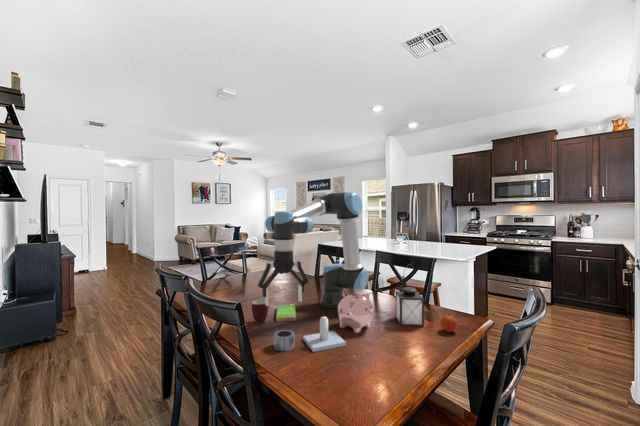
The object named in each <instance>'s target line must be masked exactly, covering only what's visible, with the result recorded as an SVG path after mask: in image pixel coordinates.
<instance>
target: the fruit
mask: <svg viewBox="0 0 640 426" xmlns="http://www.w3.org/2000/svg"><path fill="white" fill-rule="evenodd" d="M440 325H441V326H440V327H441V328H442V329H443V330H444V331H446V332H447V333H454V332H455V331H456V330H457V329H458V320H457V319H456V317H454V316H453V315H450V314H449V313H447V315H444V316H442V317H441V320H440Z"/></svg>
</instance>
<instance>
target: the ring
mask: <svg viewBox="0 0 640 426" xmlns="http://www.w3.org/2000/svg"><path fill="white" fill-rule="evenodd" d="M295 334H296V333H295V332H294V331H293V330H291V329H280V330H277V331H275V333H274V334H273V347H274V350H276V351H279V352H286V351H290V350H292V349H294V348H295V346H296V343H295V342H296V339H295V337H296V335H295Z"/></svg>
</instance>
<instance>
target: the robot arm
mask: <svg viewBox="0 0 640 426" xmlns="http://www.w3.org/2000/svg"><path fill="white" fill-rule="evenodd" d="M362 209H363V202H362V199H361V197H360V196H359V194H358V193H356V192H352V191H350V192H349V191H345V192H331V193H326V194H325V195H321V196H319V197H316V198H314V199H313V200H312V201H311V202H309V203H307V204H303V205H302V206H299V207H296V208H293V209H291V210H289V211H276V212H274V215H270V216H267V218H266V219H265V223H264V224H265V229H266V230H267V231H268V232H270V233H273V236H274V241H273V242H274V243H273V244H274V245H273V247H274V248H273V249H274V251H273V253H274V257H273V260H274V261H273V263H271V262H266V263H265V269H264V271H263V273H262V274H261V277H260V279H259V281H258V283H257V286H258V288H260V289H262V297H263V298H264V300H265V304H266V306H268V305H269V288H268V287H269V285H271V283H272V282H273V280H275V278H276V276H278V275H279V274H280V275H282V274H289V273H290V274H291V275H292V277H294V278H295V280H296V281H297V282H298V283H299V284H297V301H298V302H300V303H303V298H302V297H303V293H304V294H305V285H306V284H308V283H309V280H308V277H307V275H306V274H305V271H304V270H303V268H302V263H301V261H299V260H296V261H294V250H293V249H294V235H298V234H299V235H301V234H303V235H304V234H308V233H310V232H312V229H313V227H314V221H313V220H312V219H313V218H314V217H317V216H318V217H319V216H320V217H321V216H323V215H336V219H337V220H338V221H339V222H340V224H339V225H340V232H341V240H342V250H343V260H344V263H331V264H326V265H325V266H323V269H322V270H323V271H322V275H323V277H322V278H323V279H322V281H323V288H322V289H323V291H322V294H321V297H320V305H321V306H322V307H324V308H329V309H338V305H339V302H340V301H341V299H342V298H343V294H342V293H344V295H345V291H344V289H346V290H352V291H359V292H360V291H361V292H362V291H363V290H364V289H365V288H366V287H367V285H368V282H369V271H368V270H367V269H364V268H365V267H364V264H363V263H362V262H361V257H360V255H361V254H360V246H359V237H358V236H359V235H358V227H357V226H358V225H357V220H358V219H359V215H360V214H361V213H362ZM294 266H295V267H296V268H297V270H298V272H299V274H300V276H301V278H302V279H301V278H300V277H299V275H298V274H297V273H296V272H295V271H294V269H293V268H294ZM272 268H274V270H272V273H271V274H270V275H269V276H268V274H269V273H270V270H271V269H272ZM267 277H268V278H267ZM268 307H269V306H268Z"/></svg>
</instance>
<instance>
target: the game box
mask: <svg viewBox="0 0 640 426" xmlns="http://www.w3.org/2000/svg"><path fill="white" fill-rule="evenodd" d="M296 313H297V312H296V304H295V303H290V304H289V303H288V304H285V303H284V304H277V307H276V316H275V318H276V322H291V321H292V322H295V321H297V315H296Z"/></svg>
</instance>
